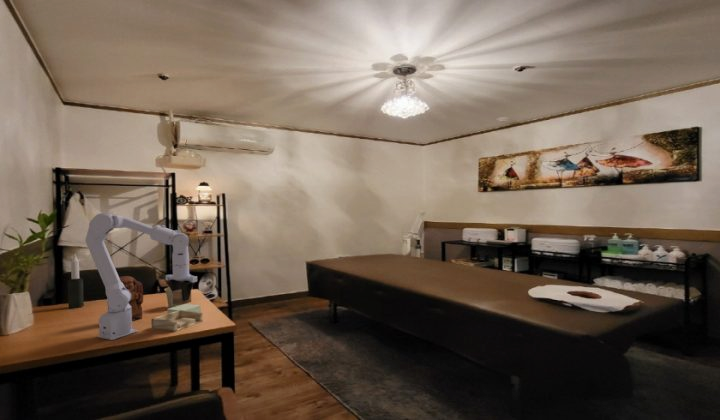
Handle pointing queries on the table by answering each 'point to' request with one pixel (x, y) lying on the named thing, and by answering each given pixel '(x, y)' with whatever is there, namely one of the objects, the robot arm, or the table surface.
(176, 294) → the walnut block
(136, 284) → the wooden figurine
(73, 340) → the table surface
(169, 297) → the flower pot
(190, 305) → the sage stand
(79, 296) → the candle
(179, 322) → the birch box
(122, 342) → the table surface
